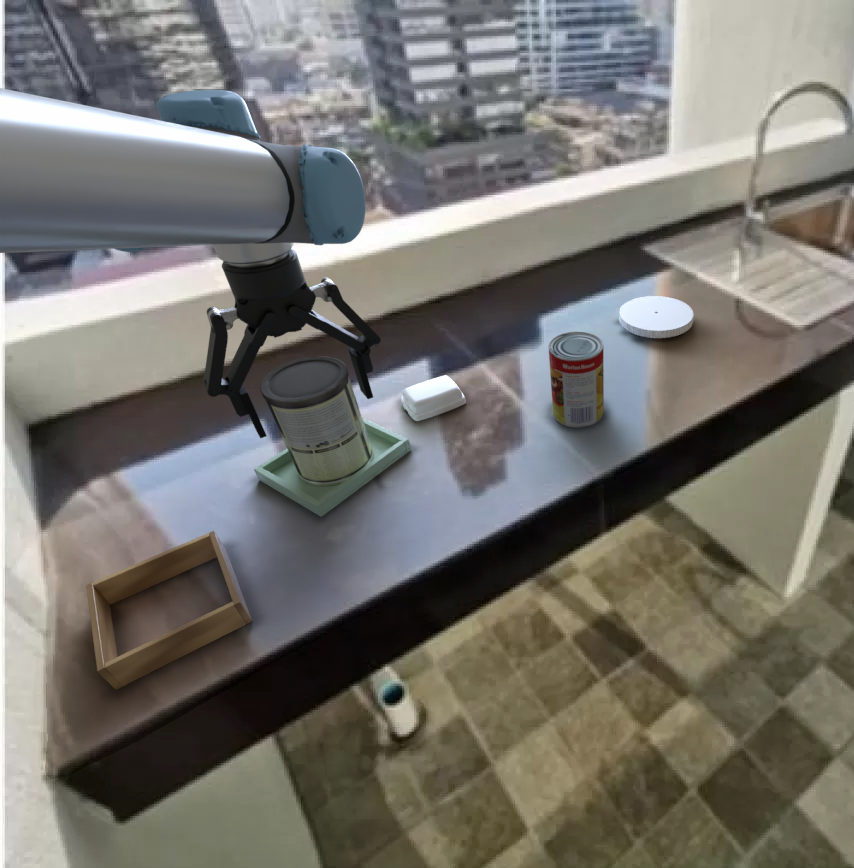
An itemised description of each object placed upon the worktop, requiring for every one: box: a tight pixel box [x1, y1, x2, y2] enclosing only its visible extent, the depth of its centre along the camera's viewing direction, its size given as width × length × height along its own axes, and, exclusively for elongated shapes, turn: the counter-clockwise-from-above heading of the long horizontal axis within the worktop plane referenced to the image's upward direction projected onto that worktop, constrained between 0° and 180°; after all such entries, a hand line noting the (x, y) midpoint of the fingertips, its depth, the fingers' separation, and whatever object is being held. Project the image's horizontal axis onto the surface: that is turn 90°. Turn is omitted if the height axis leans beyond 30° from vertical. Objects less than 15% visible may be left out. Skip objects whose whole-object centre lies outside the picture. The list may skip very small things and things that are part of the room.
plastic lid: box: [618, 295, 695, 339], centre depth 115 cm, size 14×14×2 cm
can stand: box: [85, 530, 253, 691], centre depth 65 cm, size 13×13×4 cm
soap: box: [400, 374, 467, 422], centre depth 95 cm, size 9×7×3 cm
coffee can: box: [259, 356, 374, 486], centre depth 80 cm, size 10×10×14 cm
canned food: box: [548, 331, 605, 429], centre depth 90 cm, size 8×8×12 cm
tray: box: [253, 417, 412, 518], centre depth 84 cm, size 16×13×2 cm
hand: (316, 412), depth 79 cm, fingers open, 13 cm apart
